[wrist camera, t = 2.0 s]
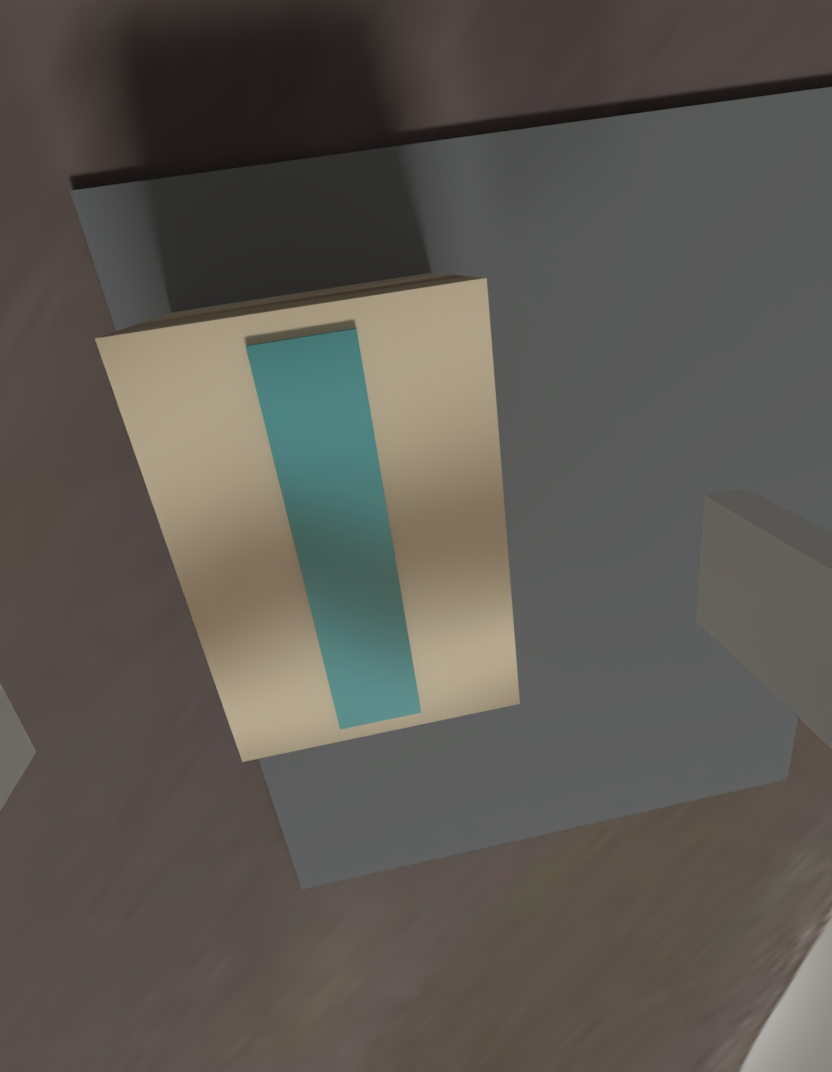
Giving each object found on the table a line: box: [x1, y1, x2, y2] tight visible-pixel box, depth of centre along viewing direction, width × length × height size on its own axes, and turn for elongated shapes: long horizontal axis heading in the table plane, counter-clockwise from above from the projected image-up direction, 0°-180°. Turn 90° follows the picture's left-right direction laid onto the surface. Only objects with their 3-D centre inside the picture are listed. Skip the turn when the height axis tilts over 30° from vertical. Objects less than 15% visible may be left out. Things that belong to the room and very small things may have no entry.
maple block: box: [95, 273, 520, 762], centre depth 16 cm, size 10×7×6 cm
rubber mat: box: [70, 87, 832, 889], centre depth 21 cm, size 26×22×1 cm
